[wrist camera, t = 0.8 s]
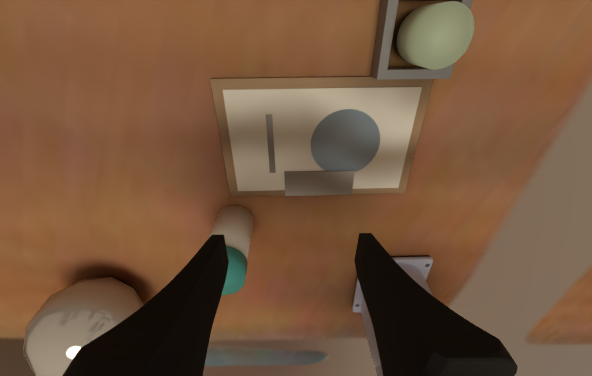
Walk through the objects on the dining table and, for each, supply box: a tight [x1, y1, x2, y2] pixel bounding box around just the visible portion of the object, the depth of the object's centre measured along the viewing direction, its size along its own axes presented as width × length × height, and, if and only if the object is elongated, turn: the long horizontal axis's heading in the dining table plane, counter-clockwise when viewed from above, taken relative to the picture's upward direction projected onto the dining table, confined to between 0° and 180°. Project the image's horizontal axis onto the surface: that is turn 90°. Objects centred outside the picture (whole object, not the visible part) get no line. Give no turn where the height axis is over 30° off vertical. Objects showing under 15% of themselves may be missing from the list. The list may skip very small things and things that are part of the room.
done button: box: [396, 1, 474, 70], centre depth 15 cm, size 3×3×3 cm
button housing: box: [371, 0, 473, 80], centre depth 17 cm, size 5×5×2 cm
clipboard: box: [210, 76, 433, 197], centre depth 21 cm, size 10×16×1 cm, turn 91°
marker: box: [208, 205, 254, 295], centre depth 22 cm, size 4×4×7 cm
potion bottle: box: [23, 277, 144, 376], centre depth 28 cm, size 9×10×15 cm
